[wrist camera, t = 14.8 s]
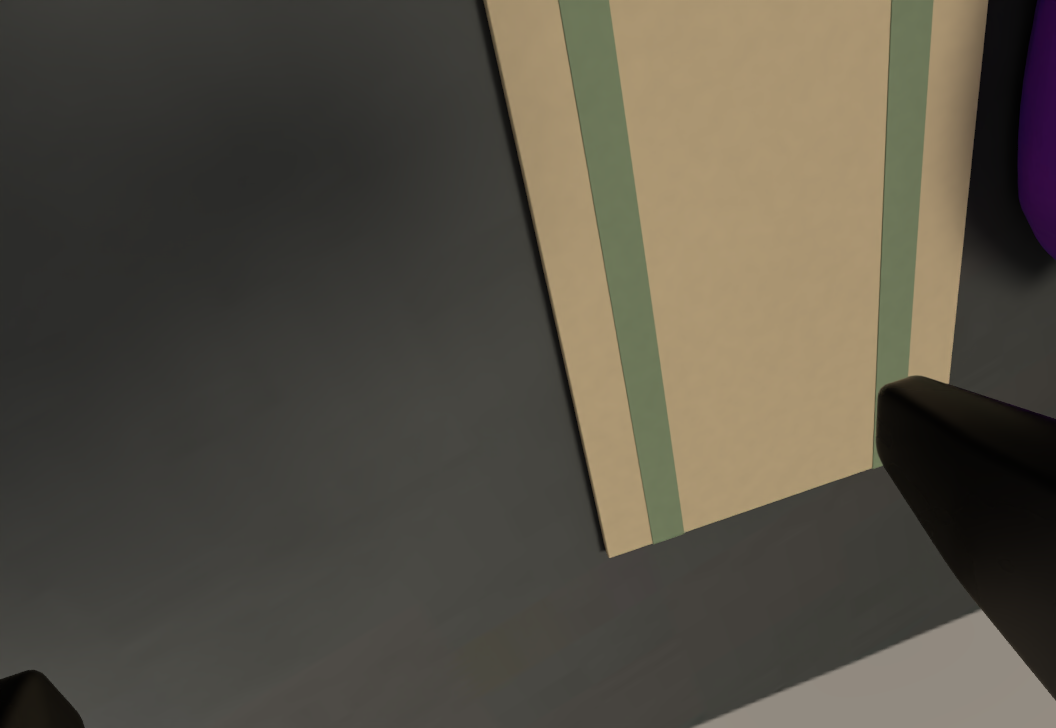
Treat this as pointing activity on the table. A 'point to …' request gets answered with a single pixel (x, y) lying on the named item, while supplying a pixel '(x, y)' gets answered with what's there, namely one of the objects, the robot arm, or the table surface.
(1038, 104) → the purple long tapered piece
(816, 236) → the cloth
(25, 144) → the table surface
